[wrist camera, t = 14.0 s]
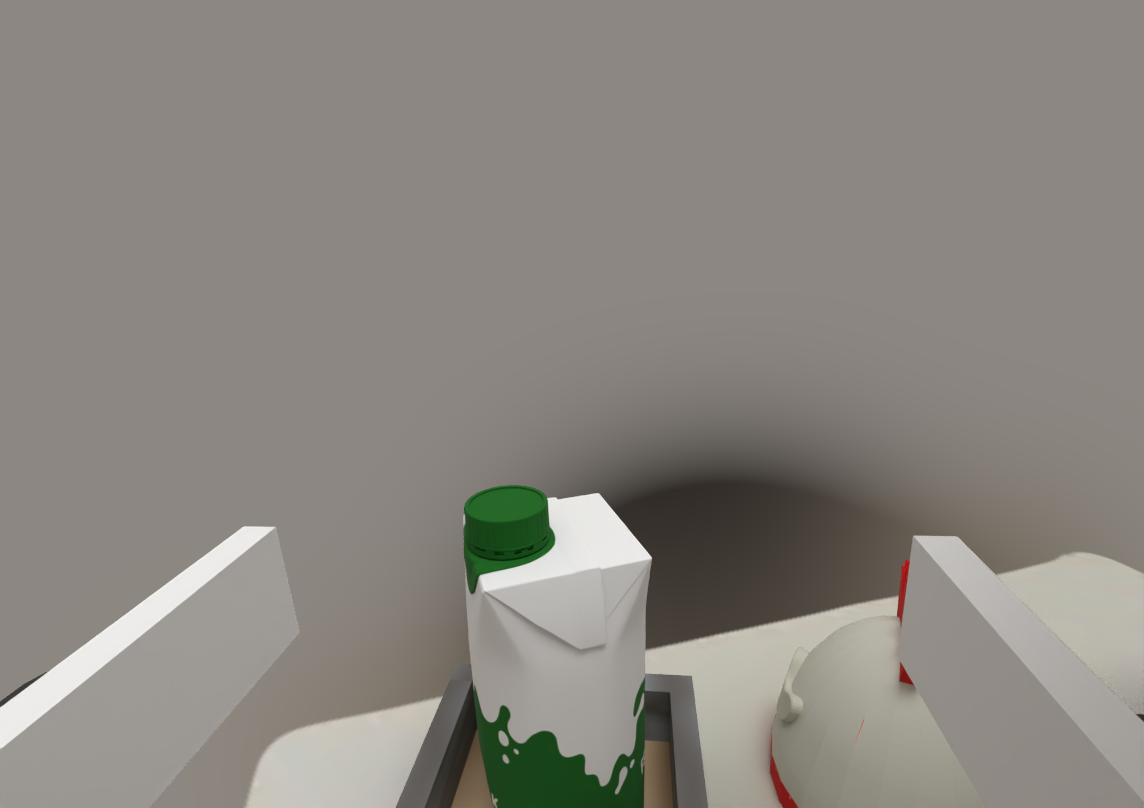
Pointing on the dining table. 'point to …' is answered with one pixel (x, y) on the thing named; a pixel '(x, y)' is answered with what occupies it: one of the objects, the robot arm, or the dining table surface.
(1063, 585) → the dining table surface
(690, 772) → the dock
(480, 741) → the soya milk
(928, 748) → the kitchen timer
